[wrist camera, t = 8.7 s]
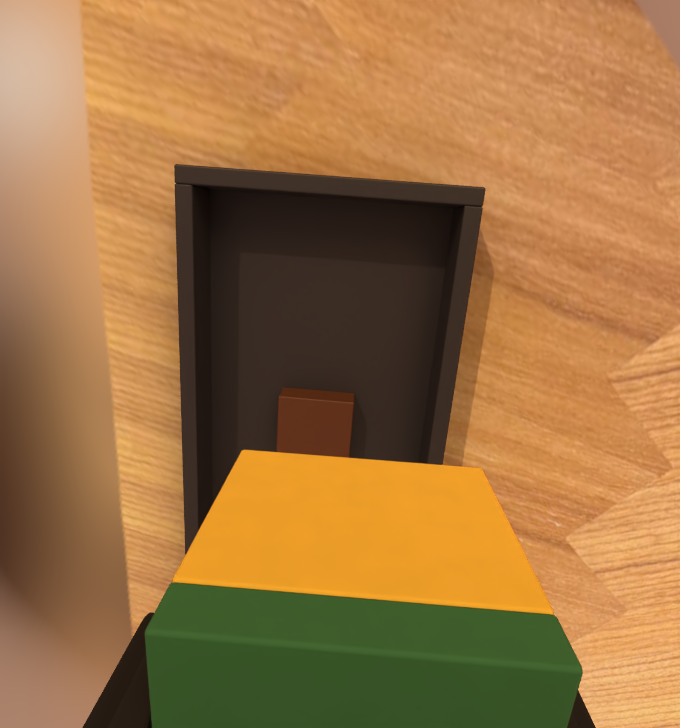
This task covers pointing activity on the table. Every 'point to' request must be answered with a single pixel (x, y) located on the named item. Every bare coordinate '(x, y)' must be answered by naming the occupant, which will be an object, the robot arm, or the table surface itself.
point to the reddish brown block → (314, 422)
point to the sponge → (357, 605)
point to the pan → (316, 311)
